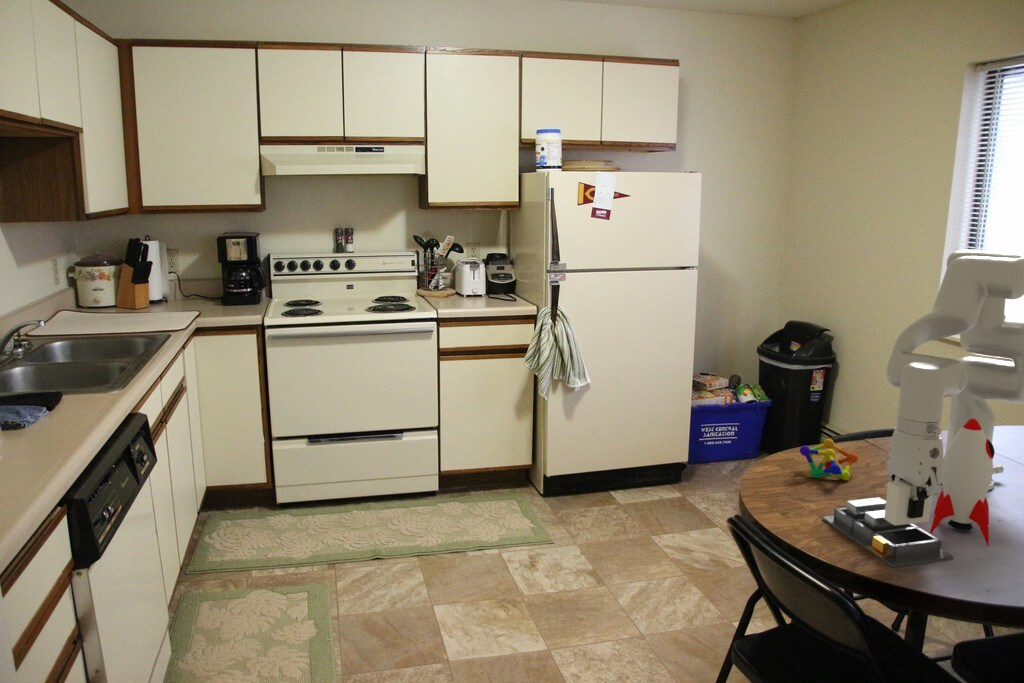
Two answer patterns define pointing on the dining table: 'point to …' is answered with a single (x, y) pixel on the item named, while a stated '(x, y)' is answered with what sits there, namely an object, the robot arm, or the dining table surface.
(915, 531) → the rack
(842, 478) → the decorative model
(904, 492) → the block
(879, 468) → the dining table surface
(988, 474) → the rocket
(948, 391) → the robot arm
